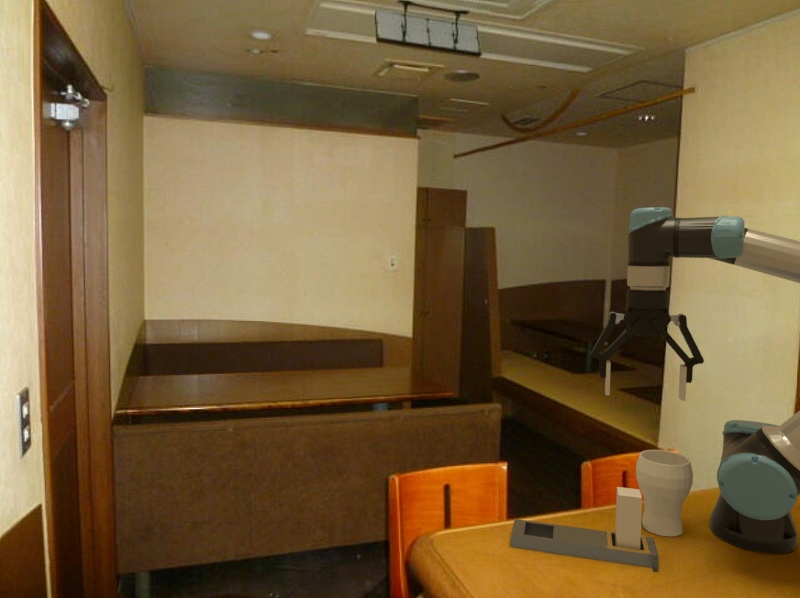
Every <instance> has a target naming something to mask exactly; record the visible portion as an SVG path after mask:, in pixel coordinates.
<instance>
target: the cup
mask: <svg viewBox="0 0 800 598" xmlns="http://www.w3.org/2000/svg"><path fill="white" fill-rule="evenodd" d="M635 466H636V467H635V469H636V470H635V477H636V480H637V483H638V487H639V488H638V489H640V492H641V495H642V496H643V502H644V503H643V504H644V511H643V514H642V518H641V527H643V529H645V530H646V531H647V532H649V533H651V534H655V535H657V536H662V537H678V536H681V535H682V534H683V531H684V530H683V521H682V515H681V514H682V509H683V504H684V502H685V500H686V499H687V497H688V496H689V494H690V492H691V489H692V486H693V482H694V480H693V479H694V472H693V467H692V462H691V460H690V458H689V457H687V456H685V455H684V454H681V453H679V452H674V451H669V450H664V449H663V450H661V449H648V450H643V451H641V452H640V453H639V455H638V458H637V461H636V465H635Z"/></svg>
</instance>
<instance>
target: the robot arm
mask: <svg viewBox="0 0 800 598" xmlns="http://www.w3.org/2000/svg"><path fill="white" fill-rule="evenodd" d="M629 217H630V218H629V227H628V228H629V229H628V231H627V235H628V236H627V237H628V238H627V239H628V244H627V246H628V247H627V249H628V252H627V253H628V254H627V258H628V259H627V280H626V284H627V285H626V286H628V287H629V289H627V290H626V303H625V305H626V308H625V312H624V313H617V312H615V311H610V312H609V314H608V320H607V324H606V325H605V327H604V329H603V330H602V332H601V334H600V335H599V337H598V340H597V341H596V343H595V345H593V348H592V349H591V351H590V357H591V358H592V359H596V360H597V361H599V376H600V378H603V379H604V378H605V379H604V381H605V382H604V394H605V396H611V395H610V393H611V388H610V387H611V364H612V363H611V360H609V358H611V357H612V356H613V355H614V354H615V352H617V351H618V349H620V348H621V347H622V346H623V345H624V344H625V342H627V341H628V340H629V339H630V338H631V337H632V336H633V335H636V336H637V337H646V336H647V337H651V338H656V337H658V336H661V337H662V338H663V340H664V341H665V342H666V343H667V344H668V345H669V347H670V348H671V349H672V350H673V351H674V352H675V353H676V355H677V356H678V357H679V358H680V359H681V360H682V362H683V363H684V364H683V363H682V364H679V376H678V377H679V378H678V379H679V381H678V399H679V400H680V401H685V402H686V393H687V383H688V384H691V383H692V381H693V370H694V366H697V365H701V364H704V363H705V359H704V357H703V355H702V353H701V351H700V349H699V347H698V345H697V343H696V342H695V339H694V337H693V335H692V333H691V332H690V330H689V328H688V327H689V326H688V322H687V321H688V317H687V316H686V315H685V314H683V313H678V314H673V315H670V313H669V304H670V303H669V302H670V300H669V298H670V292H669V290H667V288H669V286H670V272H671V271H670V270H671V269H670V268H671V258H675V259H681V258H691V259H694V258H695V259H710V260H713V261H719V262H722V263H725V264H730V265H734V266H737V267H741V268H744V269H748V270H752V271H755V272H758V273H762V274H765V275H769V276H773V277H777V278H781V279H783V280H784V279H785V280H786V281H791V282H794V283H797V284H800V240H797V239H793V238H787V237H784V236H780V235H775V234H772V233H767V232H763V231H760V230H755V229H751V228H747V227H745V220H744V218H743V217H740V216H729V215H720V216H697V217H683V218H682V217H674V215H673V211H672V209H671V208H670V207H663V206H662V207H653V206H652V207H651V206H650V207H639V208H638V207H637V208H635V209H634V210H632V211H631V212H630V215H629ZM621 321H624V323H625V324H626V325H627V327H626V328H625V329H624V330H623V331H622V332H621V334H620V335H619V336H618V337H617V338H616V339H615V340H614V341H613V342H612V343H611V344H609V346H608V347H607V348H606V349H605V350H604V351H603V352H602V353H601V350H602V349H603V347H604V346H605V344H606V341H607V340H608V338H609V337H610V335H611V334H612V331H613V330H614V327H615V325H618V324H619V323H620V322H621ZM671 322H673V324H674V325H675V326H676V327H678V328H679V331H680V332H681V333H680V334H681V335H682V337H683V339H684V341H685V343H686V345H687V347H688V350H689V351H690V353H691V355H692V357H690V356H689V355H688V354H687V353H686V352H685V351H684V350H683V348H682V347H681V346H680V345H679V344H678V343H677V342H676V341H675V339H674V338H673V337H672V336H671V334H670V333H669V332H668V331H667V330H666V329H665V328H667V326H668V325H669V324H670V323H671ZM723 427H724V428H723V431H722V436H723V437H722V438H723V439H722V440H723V441H722V442H723V443H722V453H721V457H720V462H719V465H718V468H717V472H716V479H717V484H718V490H719V492H720V494H719V495H718V498H717V499H716V502H715V504H714V506H713V508H712V511H711V513H710V515H709V516H710V517H709V529H710V531H711V532H712V533H713V534H714V535H715V536H716V537H717V538H719V539H720V540H723V541H725V542H726V543H729V544H730V545H734V546H736V547H738V548H741V549H745V550H749V551H753V552H758V553H765V554H775V555H777V554H786V553H787V554H788V553H790V552H791V553H792V552H793V551H795V550H796V549H797V548H798V540H799V539H798V538H799V534H798V531H797V527H796V524H795V521H794V518H793V514H792V510H793V508H795V505H796V503H797V502H798V498H799V496H800V410H798V411H797V412H796V413H795V414H793V415H792V416H791V417H789V418H788V419H786V421H784V422H783V423H781V424H780V425H777V424H773V423H767V422H761V421H753V420H741V419H732V420H728V421H727V420H726V422H725V424H724V426H723Z"/></svg>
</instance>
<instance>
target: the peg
mask: <svg viewBox="0 0 800 598" xmlns="http://www.w3.org/2000/svg"><path fill="white" fill-rule="evenodd" d="M642 496H643V495H642V492H641V490H640V488H629V487H622V486H621V487H620V486H616V503H615V506H616V507H615V508H616V509H615V531H616V532H615V546H616V547H623V548H630V549H637V550H640V539H641V535H642V533H641V532H642V530H641V529H642V509H643V504H642V503H643V497H642Z"/></svg>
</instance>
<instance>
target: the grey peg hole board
mask: <svg viewBox="0 0 800 598" xmlns="http://www.w3.org/2000/svg"><path fill="white" fill-rule="evenodd" d="M615 532H616V530H607V529H605V530H601V529H599V530H598V529H594V528H593V529H592V528H585V527H577V526H571V525H564V524H563V525H562V524H557V523H556V524H555V523H548V522H547V523H546V522H541V521H533V520H532V521H531V520H524V519H518V518H514V521H513V526H512V530H511V534H510V548H515V549H522V550H529V551H533V552H534V551H535V552H542V553H549V554H553V555H554V554H555V555H562V556H568V557H574V558H582V559H589V560H595V561H601V562H603V561H604V562H609V563H617V564H623V565H631V566H634V567H635V566H636V567H644V568H649V569H652V572H655V573H656V572H657V573H658V572H659V563H660V562H659V560H660V559H659V557H660V556H659V555H660V554H659V551H658V547H657V544H656V540H655V537H653V536H652V537H651V536H648V535H646V534H641V539H640V550H637V549H630V548H623V547H616V546H615Z"/></svg>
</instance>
